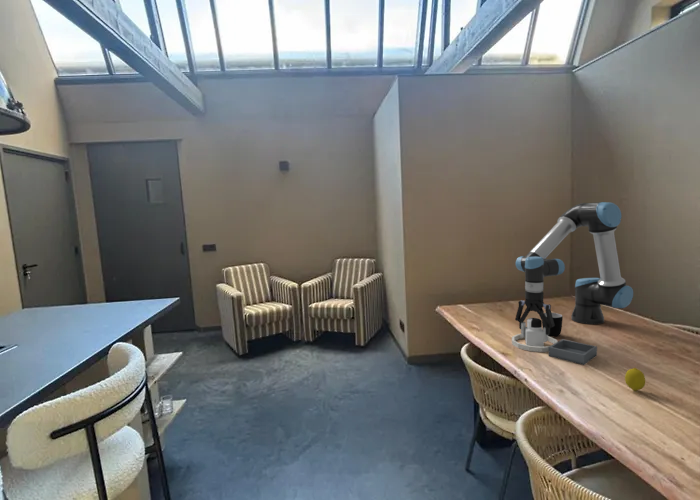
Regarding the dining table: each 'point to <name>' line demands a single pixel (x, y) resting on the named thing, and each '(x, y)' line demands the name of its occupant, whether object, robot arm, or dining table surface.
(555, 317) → the mug
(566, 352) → the tray
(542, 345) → the medicine bottle
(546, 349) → the ring holder
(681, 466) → the dining table surface
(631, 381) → the lemon
